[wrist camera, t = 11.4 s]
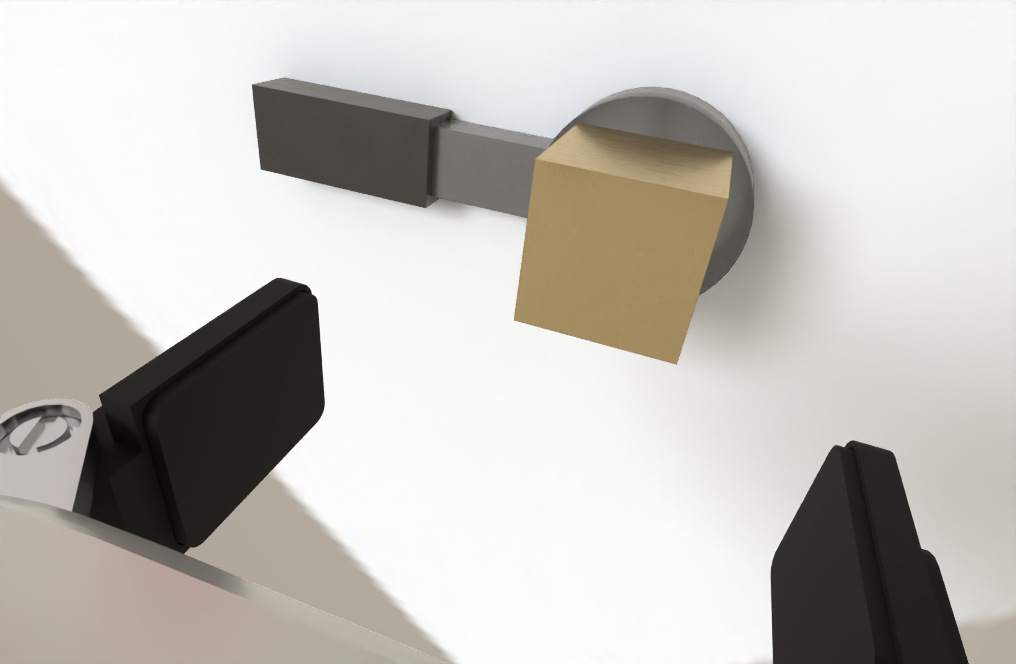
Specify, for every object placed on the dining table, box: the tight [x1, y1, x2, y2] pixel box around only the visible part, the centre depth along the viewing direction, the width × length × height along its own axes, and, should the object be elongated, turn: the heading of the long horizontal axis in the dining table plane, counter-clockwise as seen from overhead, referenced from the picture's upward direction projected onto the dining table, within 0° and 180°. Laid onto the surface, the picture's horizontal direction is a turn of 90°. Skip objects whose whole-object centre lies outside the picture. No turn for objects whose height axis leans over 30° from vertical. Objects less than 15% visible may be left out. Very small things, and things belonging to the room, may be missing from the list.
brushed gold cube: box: [514, 123, 733, 364], centre depth 23 cm, size 6×6×6 cm
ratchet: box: [252, 78, 754, 295], centre depth 26 cm, size 9×23×6 cm, turn 83°
